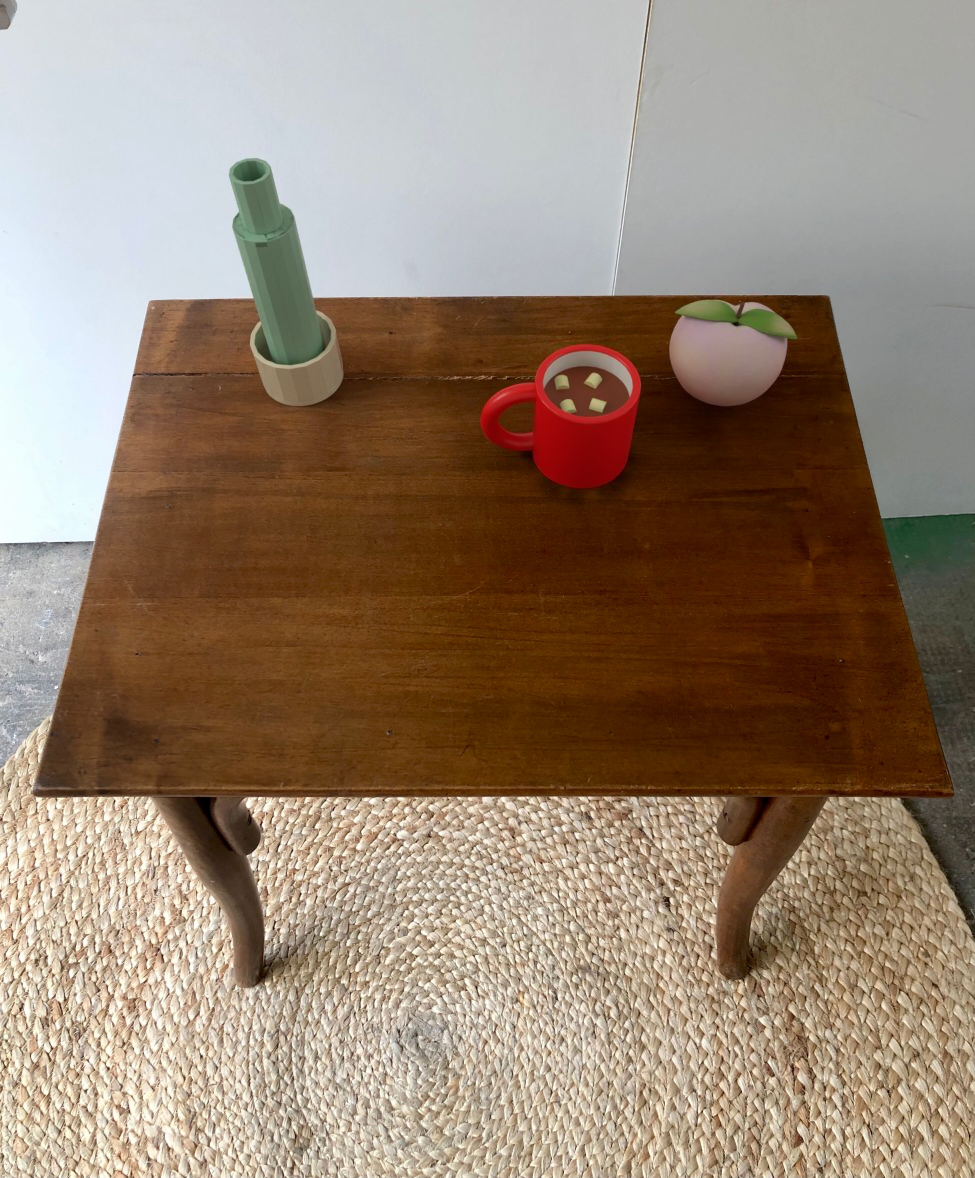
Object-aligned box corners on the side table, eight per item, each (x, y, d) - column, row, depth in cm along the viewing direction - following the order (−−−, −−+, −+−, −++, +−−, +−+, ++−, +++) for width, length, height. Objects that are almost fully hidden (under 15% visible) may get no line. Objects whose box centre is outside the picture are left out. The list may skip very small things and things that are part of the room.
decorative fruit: (659, 431, 74) (679, 340, 66) (660, 358, 79) (679, 264, 70) (774, 439, 74) (810, 349, 65) (769, 365, 78) (803, 272, 69)
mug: (477, 420, 75) (474, 351, 69) (620, 409, 76) (631, 339, 69) (485, 496, 71) (484, 431, 65) (636, 484, 72) (650, 417, 65)
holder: (259, 408, 76) (246, 370, 72) (265, 347, 80) (253, 308, 76) (342, 404, 76) (333, 366, 73) (345, 344, 80) (337, 304, 76)
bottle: (275, 391, 77) (213, 192, 60) (279, 353, 79) (220, 151, 62) (327, 388, 77) (280, 190, 60) (329, 351, 79) (284, 149, 62)
